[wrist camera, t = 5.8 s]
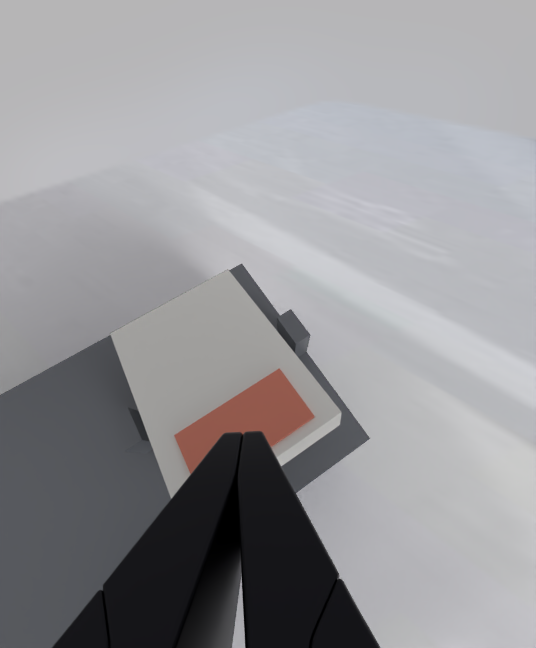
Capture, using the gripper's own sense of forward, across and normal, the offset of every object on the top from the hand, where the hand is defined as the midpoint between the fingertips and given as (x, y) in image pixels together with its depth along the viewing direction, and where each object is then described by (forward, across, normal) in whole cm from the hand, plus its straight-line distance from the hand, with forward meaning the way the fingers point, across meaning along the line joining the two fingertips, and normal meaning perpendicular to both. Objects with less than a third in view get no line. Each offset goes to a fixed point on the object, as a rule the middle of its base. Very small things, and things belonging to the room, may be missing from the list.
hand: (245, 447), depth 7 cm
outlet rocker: (+4, +1, 0) cm, 4 cm away
